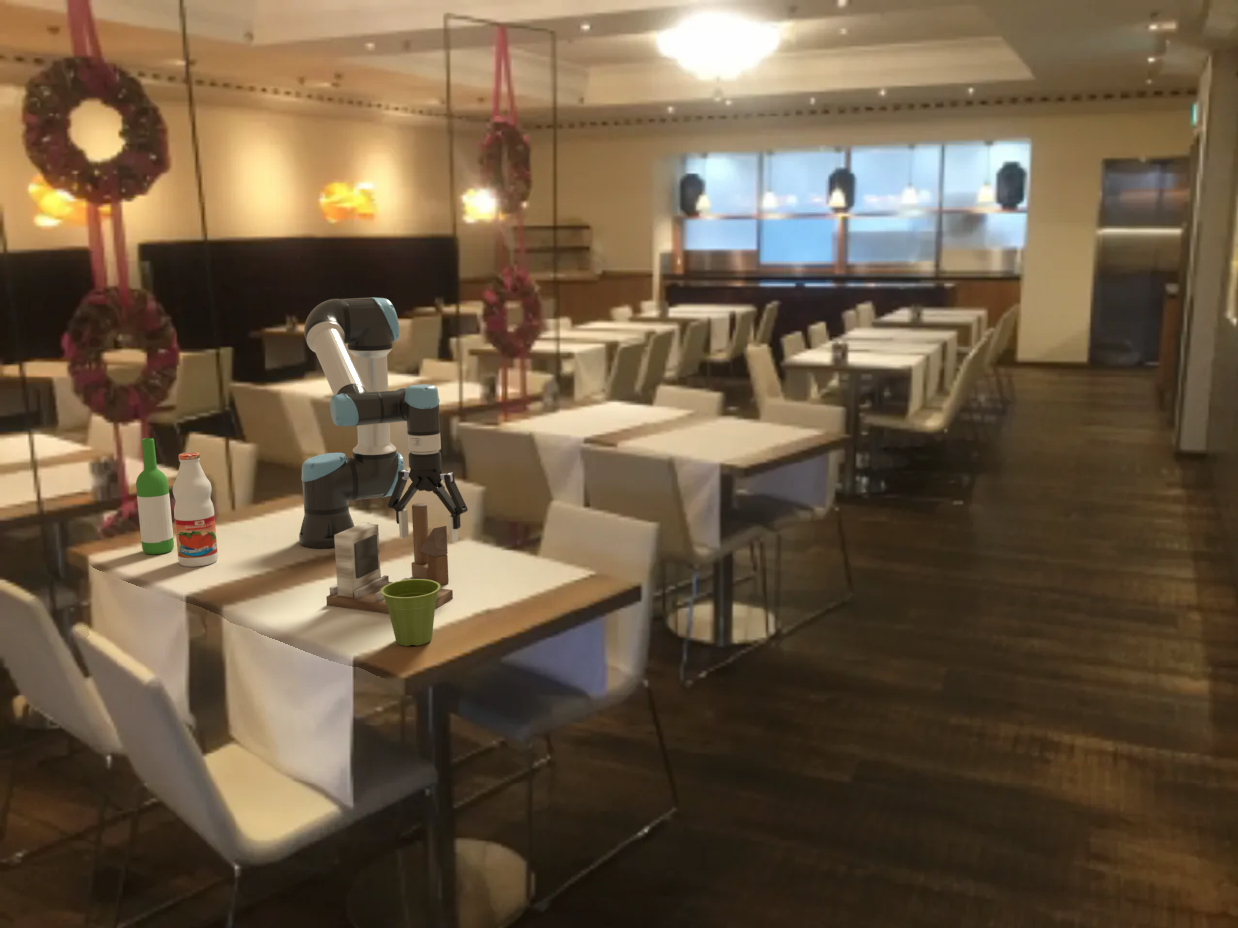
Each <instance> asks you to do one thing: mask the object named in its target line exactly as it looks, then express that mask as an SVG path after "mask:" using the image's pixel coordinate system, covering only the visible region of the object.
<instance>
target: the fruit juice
mask: <svg viewBox="0 0 1238 928" xmlns="http://www.w3.org/2000/svg"><path fill="white" fill-rule="evenodd" d="M200 457H201V456H200V452H196V451H195V452H194V451H190V452H189V451H188V452H182V453H179V454H178V461H179V462H180V464H179V468H178V471H177V475H176V477H175V481H174V482H173V484H172V494H173V497H174V499H175V500H174V501H175V504H174V506H173V507H174V508H173V519H174V526H175V538H176V547H177V548H176V549H177V561H178V563H179V565H180V566H182V567H189V568H194V567H195V568H196V567H202V566H203V567H205V566H208V565H211V564H214V563H216V562H217V561H218V558H219V554H218V541H217V531H216V519H215V507H214V503H213V501H212V500H211V495H212V483H211V482H210V480H209V479H208V478H207V476H206V474H205V472H204V470H203V468H202V465H201V463H200V460H201V458H200Z"/></svg>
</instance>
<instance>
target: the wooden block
mask: <svg viewBox="0 0 1238 928" xmlns="http://www.w3.org/2000/svg"><path fill="white" fill-rule="evenodd" d="M411 515H412V516H411V518H412V536H413V537H412V538H413V539H412V540H413V542H412V543H413V559H414V561H412V562H411V575H412V577H413V578H415V579H427V580H432V581H435V582H438V583H439V584H440V586H443V585H446V584H448V583H450V581H449V580H450V579H449V560H448V559H449V557H448V554H449V553H448V532H447V531H448V529H447V525H443V526H439V527H438V526H437V527H434V528H432V530H431V532H430V533H429V522H428V521H429V519H428V504H427V503H424V502H417V503H413V504H412V505H411Z"/></svg>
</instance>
